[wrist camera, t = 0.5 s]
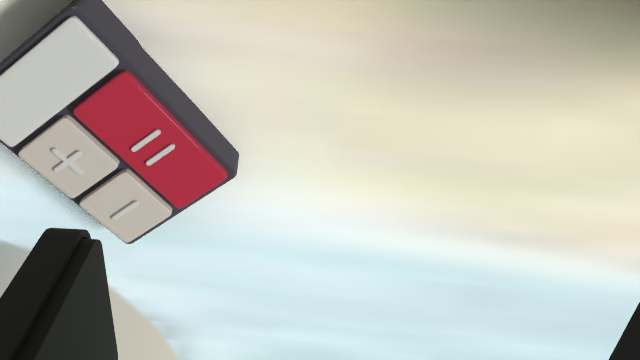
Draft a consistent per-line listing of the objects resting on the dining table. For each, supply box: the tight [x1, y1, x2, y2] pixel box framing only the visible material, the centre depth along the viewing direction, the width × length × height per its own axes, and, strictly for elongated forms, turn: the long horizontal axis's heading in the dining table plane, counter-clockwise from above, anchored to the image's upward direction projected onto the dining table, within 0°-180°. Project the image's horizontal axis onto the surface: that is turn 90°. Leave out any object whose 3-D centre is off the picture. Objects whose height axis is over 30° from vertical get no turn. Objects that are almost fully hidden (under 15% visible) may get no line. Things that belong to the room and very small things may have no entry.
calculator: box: [0, 0, 239, 244], centre depth 38 cm, size 11×4×15 cm
